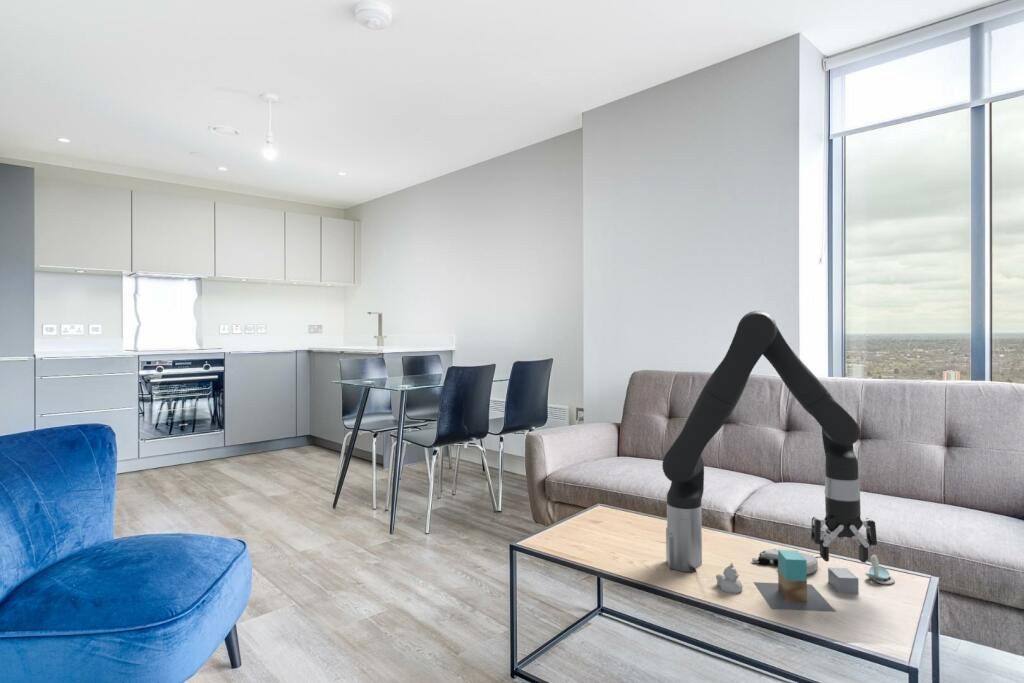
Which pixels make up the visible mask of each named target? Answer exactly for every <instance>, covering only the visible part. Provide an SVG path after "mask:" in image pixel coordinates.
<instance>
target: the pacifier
mask: <svg viewBox="0 0 1024 683" xmlns="http://www.w3.org/2000/svg"><path fill="white" fill-rule="evenodd" d="M870 563H871V564H870V565H871V566H870V568H869V570H868V572H869V573H865V576H868V577H870V578H871V580H872V579H873V580H872V581H874V580H875V581H874V582H876V583H879V584H881V585H892V584H893V583H895V578H894V577H893V576H892V575H890V572H889V570H887V569H886V568H885V567H883V566H881V565H880V561H879V558H878V556H877V554H873V555H871V556H870ZM887 579H889V580H887ZM885 580H886V581H885Z"/></svg>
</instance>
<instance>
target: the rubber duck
mask: <svg viewBox="0 0 1024 683" xmlns="http://www.w3.org/2000/svg"><path fill="white" fill-rule="evenodd" d="M724 568H725V567H724ZM739 576H740V574H739V573H738V571H737V569H736V567H735V566H734V564H733V562H731V563H730V564H729V565H728V566H727V567H726V568H725V569H724V570H723V574H721V573H719V574H718V573H717V574H716V575H715V578H716V580H717V581H716V585H717V586H719V587H720V589H721V591H722V592H726V593H731V594H739V593H742V591H743V585H742V582H741V580H740V579H739Z"/></svg>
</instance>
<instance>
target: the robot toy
mask: <svg viewBox="0 0 1024 683" xmlns="http://www.w3.org/2000/svg"><path fill="white" fill-rule="evenodd" d="M778 550H779V549H775V548H773V549H770V548H769V549H768V550H767V549H766V550H762V551H761V552H760V553H759V556H758V558H757V557H753V558H752V559H751V561H752V563H755V564H756V563H758V565H762V566H767V565H769V564H770V565H774V566H777V567H778ZM798 552H799V551H798ZM799 553H800V554H801V555H802V556H803V557H804V558H805V559H806V560H807V575H810V574H813V573H815V572H816V571H817V570H818V568H819V564H818V559H823V558H822V557H821V556H820V555H819V556H814V554H809V553H804V552H799Z"/></svg>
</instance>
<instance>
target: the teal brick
mask: <svg viewBox="0 0 1024 683" xmlns="http://www.w3.org/2000/svg"><path fill="white" fill-rule="evenodd" d="M777 550H778V566H777V567H778V568H777V571H778V570H779V571H780V573H781V574H782V575H783V577H784V578H785V579H786V580H789V581H807V582H808V579H807V578H808V576H807V560H806V559H805V558H804V557H803V556H802V555H801V554H800V553H801V552H800V553H799V550H798V549H797V550H794V549H777Z"/></svg>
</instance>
